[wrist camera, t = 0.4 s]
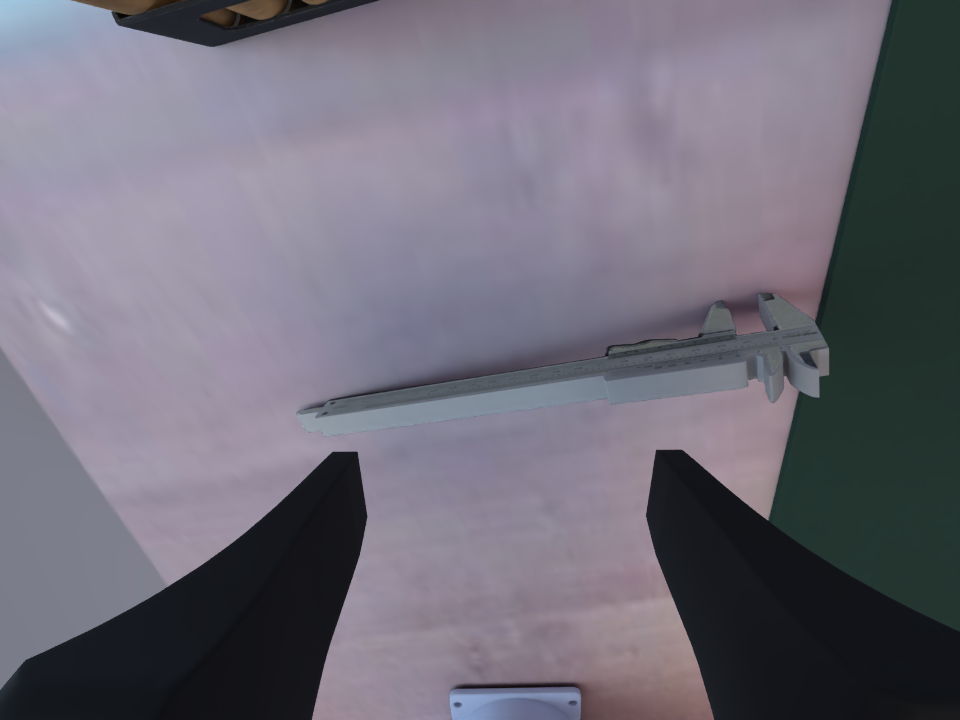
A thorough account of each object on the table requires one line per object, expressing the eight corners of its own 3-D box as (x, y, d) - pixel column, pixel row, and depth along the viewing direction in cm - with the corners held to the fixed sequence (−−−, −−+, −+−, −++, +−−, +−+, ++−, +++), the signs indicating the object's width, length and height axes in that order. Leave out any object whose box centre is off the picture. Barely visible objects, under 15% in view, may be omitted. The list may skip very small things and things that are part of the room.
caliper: (768, 286, 21) (870, 355, 15) (769, 311, 21) (869, 387, 16) (299, 407, 24) (238, 502, 18) (309, 426, 24) (253, 525, 19)
